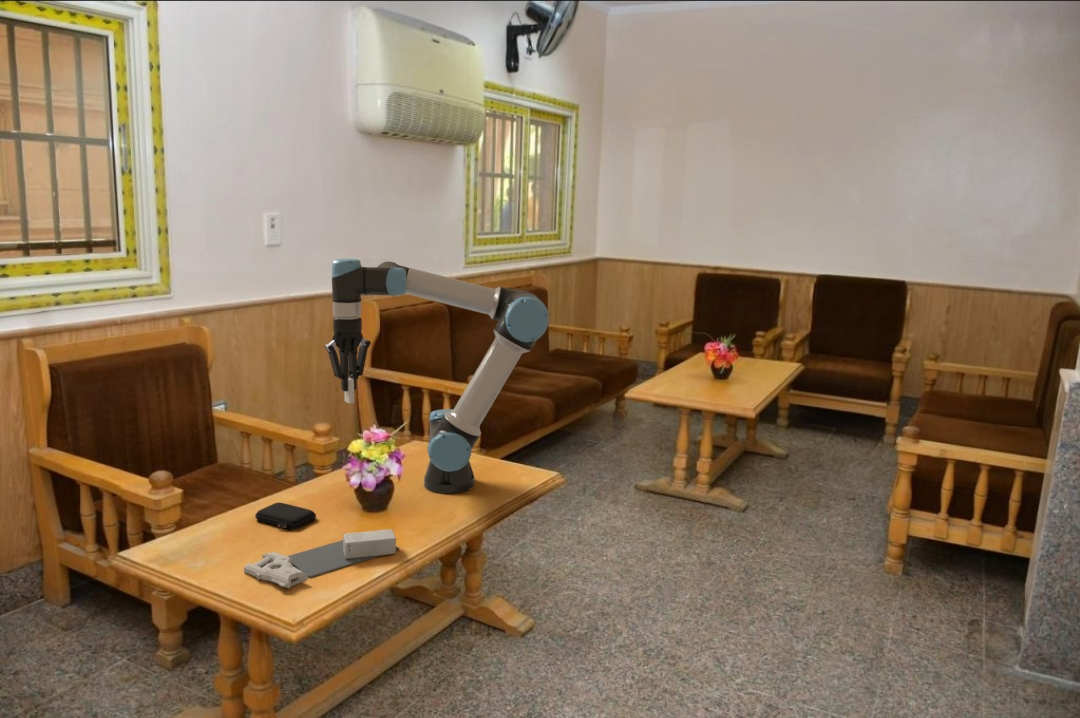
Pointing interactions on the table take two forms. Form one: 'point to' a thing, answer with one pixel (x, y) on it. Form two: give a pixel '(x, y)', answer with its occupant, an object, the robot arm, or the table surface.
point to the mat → (324, 559)
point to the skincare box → (369, 543)
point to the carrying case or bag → (285, 515)
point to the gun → (276, 570)
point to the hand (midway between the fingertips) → (349, 401)
